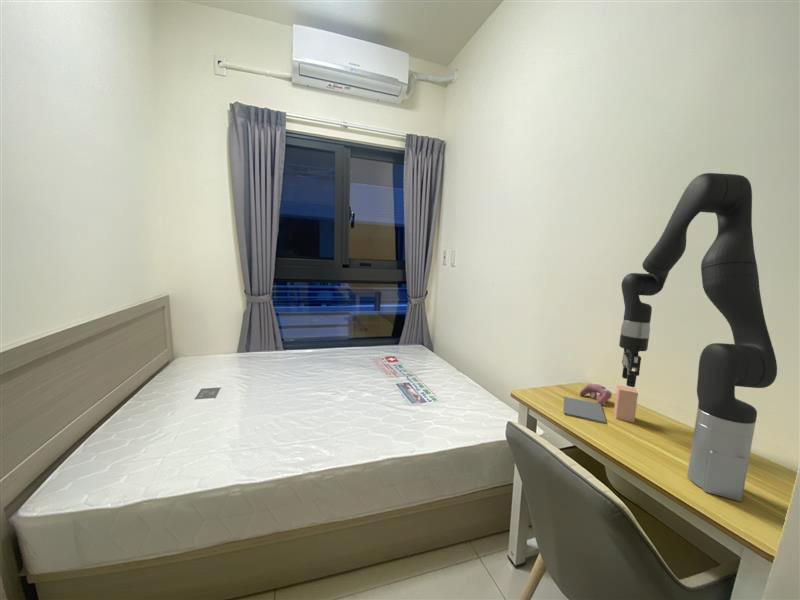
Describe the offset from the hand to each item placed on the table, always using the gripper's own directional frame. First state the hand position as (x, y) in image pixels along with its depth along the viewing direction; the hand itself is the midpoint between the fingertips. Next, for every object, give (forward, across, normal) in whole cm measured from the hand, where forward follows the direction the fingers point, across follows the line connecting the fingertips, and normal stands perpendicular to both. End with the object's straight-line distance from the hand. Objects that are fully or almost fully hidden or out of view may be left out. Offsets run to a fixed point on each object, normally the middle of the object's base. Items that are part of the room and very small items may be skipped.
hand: (628, 382), depth 106 cm
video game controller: (+13, +12, +7) cm, 19 cm away
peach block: (+12, 0, 0) cm, 12 cm away
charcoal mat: (+12, -1, +12) cm, 17 cm away
